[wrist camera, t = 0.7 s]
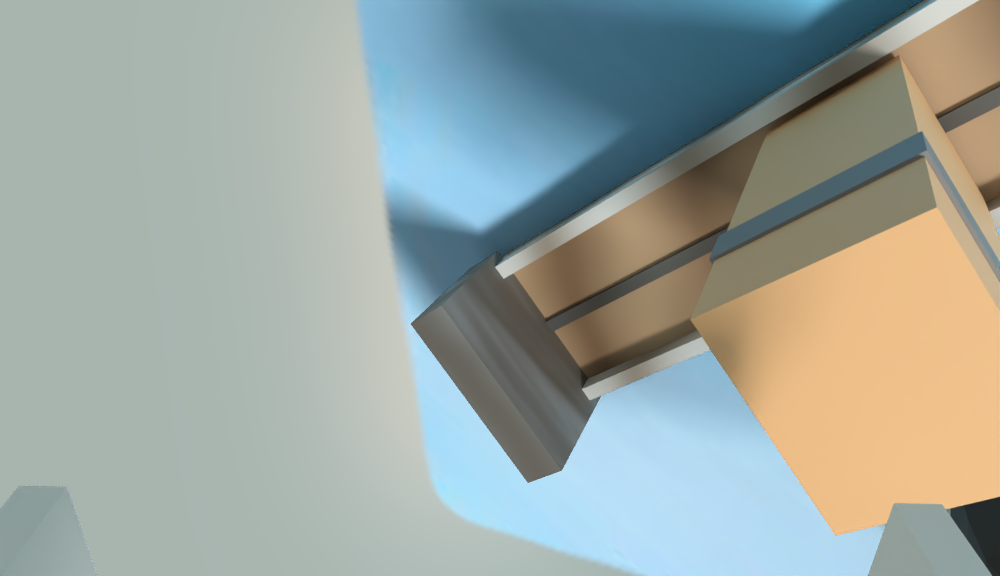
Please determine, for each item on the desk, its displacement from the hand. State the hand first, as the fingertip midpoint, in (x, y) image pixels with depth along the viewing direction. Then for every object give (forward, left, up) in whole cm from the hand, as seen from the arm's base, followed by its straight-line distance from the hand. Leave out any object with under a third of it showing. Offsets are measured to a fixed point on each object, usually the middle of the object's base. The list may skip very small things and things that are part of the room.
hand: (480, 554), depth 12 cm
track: (+3, +1, -24) cm, 24 cm away
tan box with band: (0, +6, -22) cm, 23 cm away
